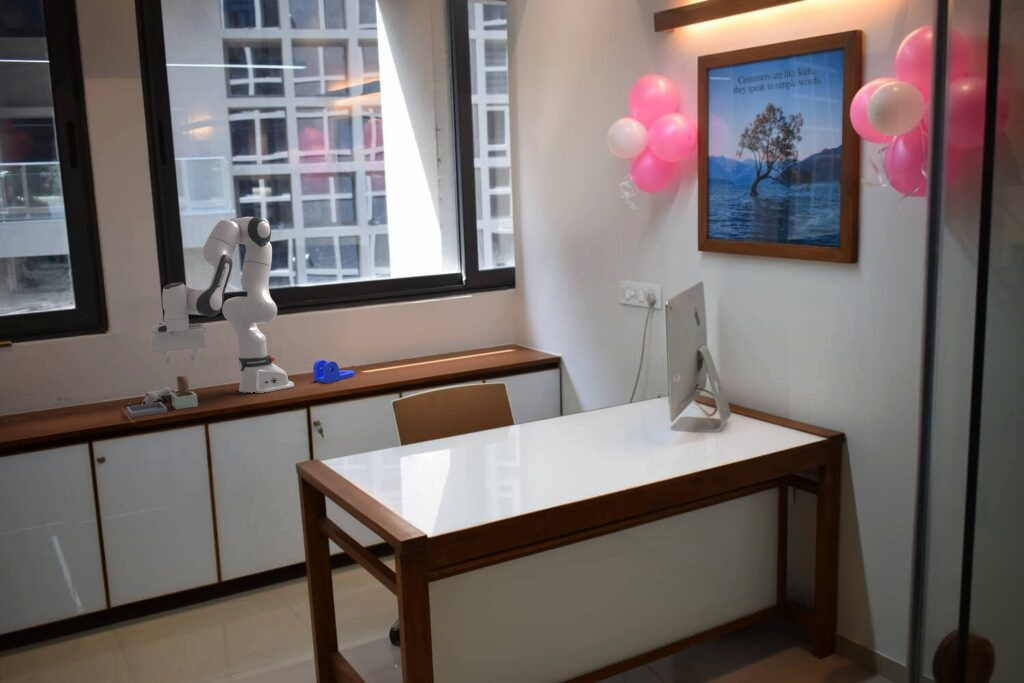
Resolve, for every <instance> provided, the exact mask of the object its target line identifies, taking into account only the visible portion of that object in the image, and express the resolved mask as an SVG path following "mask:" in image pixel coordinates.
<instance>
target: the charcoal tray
mask: <svg viewBox="0 0 1024 683" xmlns="http://www.w3.org/2000/svg"><path fill="white" fill-rule="evenodd" d="M127 413H128V414H127ZM163 413H168V407H167V406H166V405H165V404H164V403H163V402H161V401H159V402H158V401H157V402H152V403H149V404H146V403H145V404H144V403H143V404H142V405H141V404H138V405H136V406H130V405H129V406H126V414H127V415H128V416H129V418H130V417H131V418H130V419H131V421H133V419H135V418H137V417H144V416H149V415H157V414H163Z"/></svg>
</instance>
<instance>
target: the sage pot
mask: <svg viewBox="0 0 1024 683" xmlns="http://www.w3.org/2000/svg"><path fill="white" fill-rule="evenodd" d="M189 394H190V395H188V396H181V397H179V394H178V393H176V394H171V396H172V402H171V404H172V406H173V408H174V409H175V410H182V409H189V408H196V407H199V402H198V394H196V392H194V391H193V390H192V391H190V390H189Z"/></svg>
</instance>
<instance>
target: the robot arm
mask: <svg viewBox="0 0 1024 683" xmlns="http://www.w3.org/2000/svg"><path fill="white" fill-rule="evenodd" d="M271 236H272V227H271V224H270V222H269V221H268V219H266V218H265V217H262V216H261V217H260V216H243V217H238V218H232V219H221V220H220V221H218V222H217V223H216V224H215V226H214V227H213V228H212V230H211V231H210V233H209V235H208V237H207V239H206V241H205V244H204V246H203V249H202V255H203V258H204V260H205V261H206V262H207V263H208V264H209V265H211V266H212V267H214V272H213V274H212V277H211V281H210V282H209V286H208V287H207V288H206V289H204V290H202V289H194V288H191V287H188V285H186V284H184V282H181V281H179V282H178V281H177V282H172V283H168V284H166V285H165V286H164V287H163V289H162V308H163V310H164V316H163V318H164V319H163V320H164V321H163V322H160V323H158V324H155V325H153V326H152V327H151V329H152V333H151V335H150V338H149V341H150V342H149V344H150V345H149V347H150V351H151V352H153V353H160V355H161V356H162V357H163V359H164V363H165V364H168V363H170V358H169V357H167V356H166V352H171V351H181V350H182V351H183V350H189V349H192V351H193V352H192V353H191V354H190V355H189V360H190V361H195V360H196V354H197V352H198V349H199V348H206V346H207V338H206V326H205V325H204V324H202V323H193V324H191V323H190V319H189V315H196V316H197V315H198V316H206V317H211V318H212V317H215V316H217V315H218V314H219V313H220V312H221V310H222V316H223V317H224V318H225V319H226V320H227V321H228V323H230V325H231V326H232V329H233V330H234V333H235V335H236V337H237V342H238V351H239V352H238V353H239V357H238V366H239V370H240V378H239V380H240V382H239V387H238V391H239V392H241V393H247V392H248V394H250V393H251V394H253V392H255V393H256V394H263V393H264V392H265V393H269V392H276V391H279V390H280V391H281V390H285V389H291V388H293V387H295V383H294V381H292V380H289V378H288V375H287V372H286V371H285V370H284V369H282V368H281V367H279V366H278V365H276V364H274V363H273V362H276V359H277V358H276V357H275V356H274V355H269V354H268V349H267V348H268V347H267V338H266V336H265V334H264V333H263V332H262V331H260V329H259V328H258V325H264V324H268V323H272V322H273V321H275V319H277V318H276V317H277V315H278V307H277V304H276V303H275V301H274V300H273V298H272V297H271V294H270V288H269V284H270V283H269V282H270V275H271V268H272V262H273V261H272V260H273V248H272V247H273V246H272V244H271V243H270V240H271ZM237 245H244V247H245V254H244V259H243V264H242V271H241V277H240V280H241V284H243V285H244V286H245V289H246V291H247V292H246V293H247V294H246V296H235V297H231V298H228V299H226V300H225V301H224V298H225V293H226V290H227V286H228V284H229V279H230V276H231V273H232V270H233V260H232V258H233V254H234V252H235V250H236V247H237ZM249 392H250V393H249ZM255 393H254V394H255Z"/></svg>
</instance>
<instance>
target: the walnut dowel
mask: <svg viewBox="0 0 1024 683" xmlns="http://www.w3.org/2000/svg"><path fill="white" fill-rule="evenodd" d="M176 383H177V384H176V385H177V391H178V394H179V397H181V396H188V395H190V394H189V392H190V387H189V386H190V385H189V376H188V375H180V376H179V375H178V376H176Z"/></svg>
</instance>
